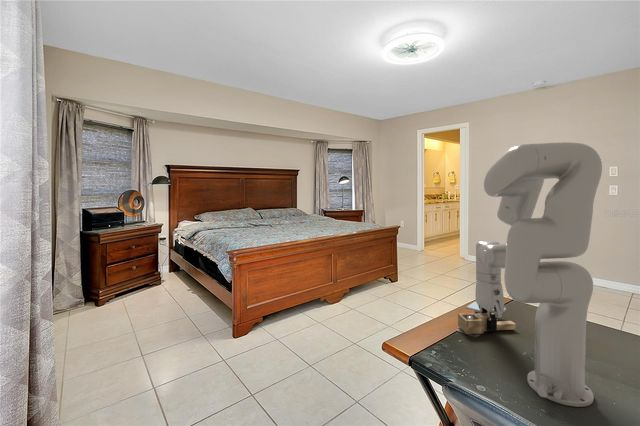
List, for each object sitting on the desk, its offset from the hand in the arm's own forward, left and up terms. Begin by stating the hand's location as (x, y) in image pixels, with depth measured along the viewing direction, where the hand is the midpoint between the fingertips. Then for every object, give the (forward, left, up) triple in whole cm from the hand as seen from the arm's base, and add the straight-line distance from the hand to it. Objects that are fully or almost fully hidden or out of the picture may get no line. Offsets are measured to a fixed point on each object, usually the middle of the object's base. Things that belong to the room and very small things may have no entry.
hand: (488, 327), depth 103 cm
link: (0, 0, 0) cm, 1 cm away
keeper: (+10, +5, -1) cm, 11 cm away
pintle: (-5, +4, -1) cm, 6 cm away
